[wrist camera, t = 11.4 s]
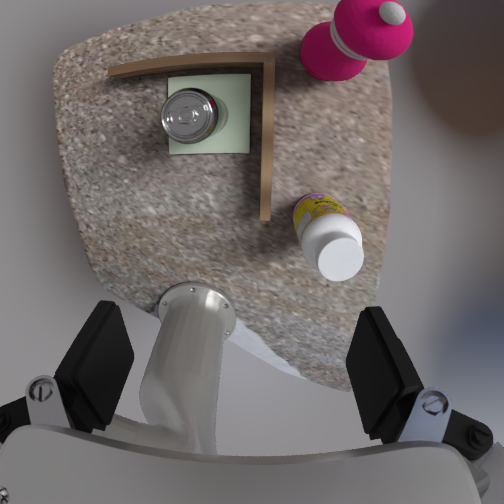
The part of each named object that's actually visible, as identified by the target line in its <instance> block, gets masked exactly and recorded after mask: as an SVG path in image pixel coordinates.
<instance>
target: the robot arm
mask: <svg viewBox="0 0 504 504" xmlns="http://www.w3.org/2000/svg"><path fill="white" fill-rule="evenodd" d="M158 315H159V319H160V321H161V324H162V326H161V328H160V331H159V334H158V336H157V339H156V342H155V345H154V348H153V350H152V353H151V356H150V359H149V362H148V365H147V367H146V371H145V373H144V376H143V379H142V382H141V386H140V391H139V399H140V405H141V408H142V411H143V414H144V416H145V418H146V420H147V422H148V424H149V425H148V424H145V423H139V422H137V421H133V420H131V419H128V418H125V417H122V416H120V415H117V414H114V412H115V409H116V407H117V404H118V401H119V399H120V396H121V393H122V390H123V388H124V385H125V382H126V380H127V377H128V374H129V372H130V369H131V366H132V364H133V361H134V352H133V349H132V346H131V343H130V340H129V337H128V334H127V331H126V327H125V325H124V321H123V318H122V314H121V311H120V308H119V306H117V305H116V304H115V302H113V301H102V300H101V301H100V302H99V303H98V304H97V306H96V307H95V309H94V310H93V312H92V313H91V315H90V316H89V318H88V319H87V321H86V322H85V324H84V326H83V327H82V329H81V330H80V332H79V334H78V335H77V337H76V338H75V340H74V341H73V343H72V345H71V347H70V348H69V350H68V351H67V353H66V355H65V357H64V358H63V360H62V362H61V364H60V365H59V367H58V369H57V370H56V372H55V375H54V377H53V378H52V377H51V376H48V375H41V376H38V377H36V378H34V379H33V380H31V381H30V383H29V384H28V386H27V388H26V396H25V397H23V398H20V399H18V400H16V401H13V402H11V403H8V404H6V405H3V406H1V407H0V504H504V447H503V446H502V445H500V443H498V442H497V443H495V444H494V443H493V434H492V432H491V430H490V429H489V428H488V426H486V425H485V424H483V423H481V422H479V421H476V420H474V419H472V418H470V417H468V416H466V415H463V414H461V413H459V412H457V411H455V410H453V409H452V402H451V399H450V397H449V395H448V394H447V393H446V392H445V391H443V390H442V389H440V388H436V387H428V388H425V389H424V386H423V384H422V382H421V380H420V378H419V376H418V374H417V372H416V369H415V368H414V366H413V363H412V361H411V359H410V357H409V355H408V353H407V352H406V349H405V348H404V346H403V344H402V342H401V340H400V339H399V338H397V336H396V334H395V332H394V330H393V328H392V326H391V324H390V322H389V321H388V319H387V317H386V315H385V313H384V311H383V310H382V308H381V307H380V306H375V307H366V308H365V310H364V311H361V312H360V315H359V319H358V322H357V325H356V329H355V332H354V335H353V339H352V342H351V345H350V348H349V351H348V354H347V357H346V368H347V371H348V375H349V378H350V381H351V385H352V388H353V392H354V395H355V399H356V402H357V406H358V409H359V413H360V417H361V421H362V424H363V428H364V432H365V433H366V434H369V436H370V440H374V439H380V438H381V441H382V443H383V445H377V446H371V447H365V448H359V449H352V450H345V451H337V452H328V453H319V454H307V455H294V456H293V455H292V456H258V457H257V456H224V455H217V451H216V436H215V431H216V429H215V428H216V427H215V426H216V411H217V400H218V390H219V380H220V370H221V362H222V352H223V344H224V340H226V339H227V338H228V337H229V336H230V335H231V334H232V332H233V331H234V328H235V326H236V311H235V308H234V306H233V304H232V302H231V301H230V299H229V298H228V297H227V296H226V295H225V294H224V293H222V292H221V291H219V290H218V289H216V288H214V287H212V286H209V285H207V284H202V283H196V282H188V283H182V284H178V285H176V286H174V287H172V288H170V289H169V290H168V291H166V293H165V294H164V295H163V296H162V299H161V301H160V303H159V307H158Z"/></svg>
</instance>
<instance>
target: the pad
mask: <svg viewBox="0 0 504 504" xmlns="http://www.w3.org/2000/svg"><path fill="white" fill-rule="evenodd" d="M183 88H199V89H202V90H204V91H206V92H208V93H210V94H212V95H214V96H216V97H218V98H220V99H221V100H222V101H223V102H224V103H225V105H226V106H227V109H228V121H227V123H226V125H225V127H224V128H223V129H222V130H221V131H220V132H218V133H216V134H214V135H212V136H210V137H209V138H207V139H205V140H203V141H201V142H198V143H195V144H182V143H178V142H176V141H174V140H172V139H171V138H170V137H169V155H171V154H195V153H249V149H250V94H251V74H213V75H195V76H182V77H171V78H168V97H170V96H171V95H172V94H173V93H174V92H176V91H178V90H180V89H183Z"/></svg>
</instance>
